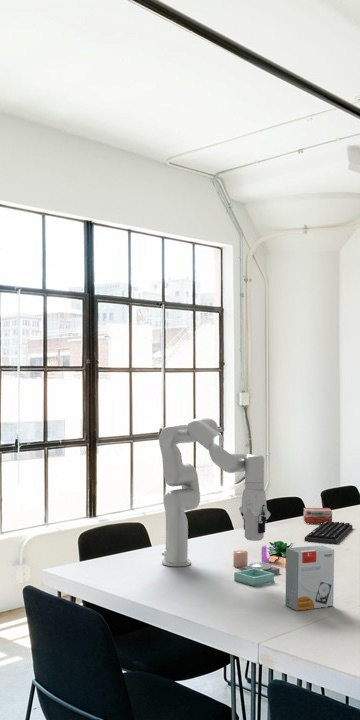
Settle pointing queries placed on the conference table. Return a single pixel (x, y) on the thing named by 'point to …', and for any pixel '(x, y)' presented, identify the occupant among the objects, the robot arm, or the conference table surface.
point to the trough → (254, 577)
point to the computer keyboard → (329, 532)
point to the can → (252, 527)
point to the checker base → (272, 570)
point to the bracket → (265, 553)
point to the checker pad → (260, 566)
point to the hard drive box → (309, 577)
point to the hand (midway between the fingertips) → (254, 531)
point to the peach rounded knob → (240, 558)
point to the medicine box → (317, 515)
